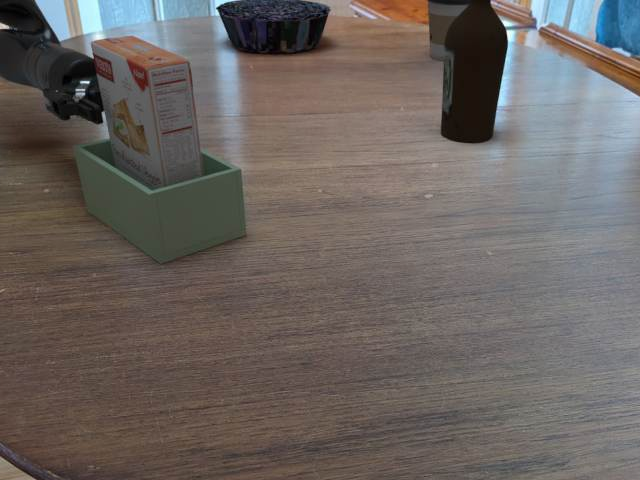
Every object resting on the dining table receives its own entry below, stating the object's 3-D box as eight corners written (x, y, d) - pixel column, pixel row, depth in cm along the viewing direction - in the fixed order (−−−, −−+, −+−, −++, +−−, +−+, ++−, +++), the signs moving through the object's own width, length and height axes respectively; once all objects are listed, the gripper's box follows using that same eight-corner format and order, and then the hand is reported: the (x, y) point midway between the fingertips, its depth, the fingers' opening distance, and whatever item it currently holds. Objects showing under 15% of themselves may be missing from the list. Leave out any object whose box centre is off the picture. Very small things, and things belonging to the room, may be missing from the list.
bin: (160, 264, 88) (149, 194, 83) (87, 211, 99) (72, 146, 94) (246, 235, 95) (241, 168, 90) (169, 188, 106) (160, 127, 101)
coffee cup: (421, 50, 179) (426, -18, 170) (467, 52, 179) (474, -16, 170) (422, 62, 170) (426, -9, 161) (470, 64, 170) (477, -7, 161)
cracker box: (119, 203, 99) (87, 39, 86) (159, 193, 102) (134, 33, 90) (170, 240, 91) (142, 65, 78) (212, 227, 94) (192, 57, 82)
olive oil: (492, 125, 135) (511, -27, 120) (499, 145, 126) (521, -16, 111) (435, 123, 135) (447, -29, 120) (439, 143, 126) (452, -18, 111)
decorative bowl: (222, 40, 187) (215, -3, 181) (327, 31, 191) (324, -11, 185) (222, 65, 167) (215, 19, 161) (340, 55, 171) (337, 9, 165)
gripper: (127, 99, 106) (185, 128, 97) (29, 117, 98) (83, 151, 89) (117, 44, 102) (178, 69, 93) (15, 58, 94) (69, 87, 85)
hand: (131, 109), depth 91 cm, fingers open, 8 cm apart
